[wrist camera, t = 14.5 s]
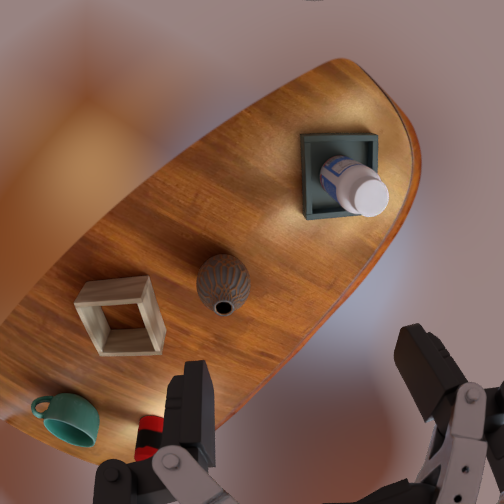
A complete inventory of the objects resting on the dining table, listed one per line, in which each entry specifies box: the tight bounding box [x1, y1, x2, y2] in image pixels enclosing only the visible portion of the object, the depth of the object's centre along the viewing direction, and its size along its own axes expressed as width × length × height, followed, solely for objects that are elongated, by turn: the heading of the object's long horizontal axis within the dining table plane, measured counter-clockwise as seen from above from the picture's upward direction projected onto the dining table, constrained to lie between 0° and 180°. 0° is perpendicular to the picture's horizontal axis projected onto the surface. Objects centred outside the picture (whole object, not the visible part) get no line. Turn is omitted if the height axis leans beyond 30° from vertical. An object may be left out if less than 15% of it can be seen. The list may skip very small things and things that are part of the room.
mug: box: [31, 393, 99, 447], centre depth 52 cm, size 17×12×10 cm
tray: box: [300, 133, 378, 220], centre depth 36 cm, size 11×10×2 cm
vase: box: [196, 254, 250, 316], centre depth 39 cm, size 7×7×9 cm
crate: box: [74, 275, 166, 356], centre depth 42 cm, size 11×11×6 cm
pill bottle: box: [320, 156, 389, 217], centre depth 33 cm, size 6×5×10 cm
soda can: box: [134, 416, 164, 462], centre depth 55 cm, size 8×8×12 cm
